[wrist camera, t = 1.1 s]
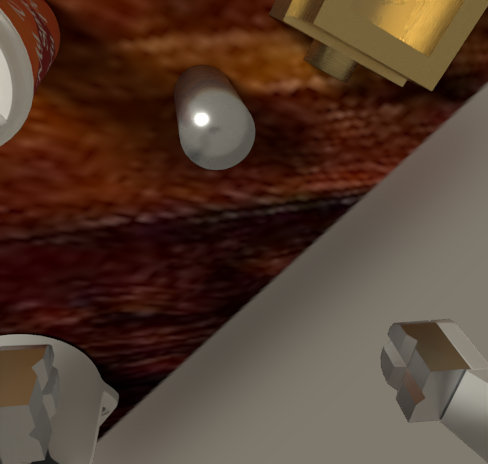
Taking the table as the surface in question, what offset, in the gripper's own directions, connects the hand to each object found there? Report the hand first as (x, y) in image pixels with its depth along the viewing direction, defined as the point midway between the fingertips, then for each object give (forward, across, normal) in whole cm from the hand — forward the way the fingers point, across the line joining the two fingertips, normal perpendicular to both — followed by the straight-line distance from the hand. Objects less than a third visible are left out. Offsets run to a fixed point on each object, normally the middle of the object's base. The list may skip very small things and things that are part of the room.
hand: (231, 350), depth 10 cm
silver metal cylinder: (+26, -1, +1) cm, 26 cm away
